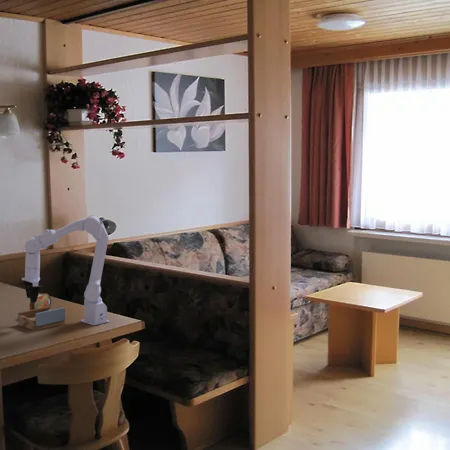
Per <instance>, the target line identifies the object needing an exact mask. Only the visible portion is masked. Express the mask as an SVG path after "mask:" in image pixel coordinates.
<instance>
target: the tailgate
mask: <svg viewBox="0 0 450 450" xmlns="http://www.w3.org/2000/svg"><path fill="white" fill-rule="evenodd" d="M35 319H36V327H37V326H42V325H46V324H50V323H55V322H59V321H63V320H66V307H64V306H63V307H60V308H59V307H58V308H54V309H50V310H49V311H45V312H40V313H35Z"/></svg>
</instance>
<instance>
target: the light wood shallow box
mask: <svg viewBox="0 0 450 450" xmlns="http://www.w3.org/2000/svg"><path fill="white" fill-rule="evenodd" d="M49 310H51V308H50V307H44V308H39V309H34V310H30V309H29V310H26V311H21V312H18V313H17V319H18V323H17V324H18V326H20V327H24V328H26V329H27V330H28V329H29V330H31V331H33V332H34V331H39V330H43V329H48V328H52V327H56V326H60V325H64V324H65V323H66V321H65V320H66V319H65V320H63V321H59V322H55V323H50V324H46V325H42V326H37V327H36V319H35V313H40V312H45V311H49Z"/></svg>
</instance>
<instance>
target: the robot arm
mask: <svg viewBox="0 0 450 450" xmlns="http://www.w3.org/2000/svg"><path fill="white" fill-rule="evenodd" d="M84 230H85V232H86V233H88V234H89V235H91V236H92V237H93V238H94V240H95V241H96V243H95V244H96V245H95V249H94V254H93V261H92V264H91V271H90V275H89V280H88V284H87V285H86V288H85V291H84V294H83V297H84V299H83V301H84V302H83V305H84V306H83V308H84V309H83V310H84V319H80V322H81V323H84V324H88V325H91V326H97V325H102V324H105V323H108V322H110V320H109V319H108V307H107V305H106V304H105V303H104V302H103V298H102V297H101V293H102V286H101V281H102V276H103V269H104V265H105V258H106V253H107V247H108V243H109V234H108V232H107V229H106V227H105V225H104V222H103V221H102V220H101V218H100V217H98V216H97V215H95V214H94V215H93V214H92V215H89V216H87V217H82V218H80V219H77V220H74V221H73V222H71V223H69V224H67V225H65V226H63V227H61V228H58V229H56V230H54V229H45V230H44V232H43V233H41V234H38V235H37V234H35V235H34V237H31V238H29V239H28V240H26V241H25V243H24V249H25V259H24V260H25V262H24V263H25V264H24V265H25V266H24V277H21V281H22V283H23V284H24V285H23V286H24V289H25V295H26V298H27V299H29V301H30V302H31V303H32V302H36V301H37V298H38V295H40V294H39V293H40V292H41V289H42V287H43V286H42V285H39V281H40V280H41V277H40V274H41V273H40V272H41V270H40V269H41V249H45V248H48V247H50V246H52V245H54V244H56V243H58V242H59V239H60V238H62V237H63V236H66V235H69V234H71V233H73V232H76V231H80V232H84Z"/></svg>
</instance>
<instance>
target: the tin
mask: <svg viewBox="0 0 450 450" xmlns="http://www.w3.org/2000/svg"><path fill="white" fill-rule="evenodd" d="M44 307H50V309H51V307H52V298H51V296H50V294H49V293H41V294H38V298H37V301H36V302H32V303H31V301H30V302H29V311H30V310H34V309H39V308H44Z"/></svg>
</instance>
